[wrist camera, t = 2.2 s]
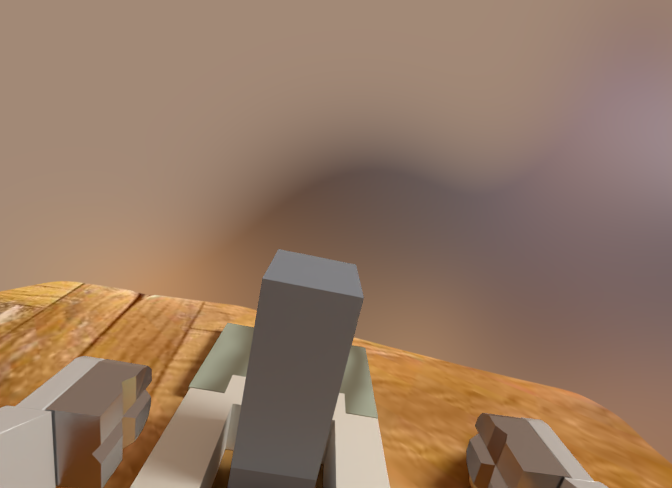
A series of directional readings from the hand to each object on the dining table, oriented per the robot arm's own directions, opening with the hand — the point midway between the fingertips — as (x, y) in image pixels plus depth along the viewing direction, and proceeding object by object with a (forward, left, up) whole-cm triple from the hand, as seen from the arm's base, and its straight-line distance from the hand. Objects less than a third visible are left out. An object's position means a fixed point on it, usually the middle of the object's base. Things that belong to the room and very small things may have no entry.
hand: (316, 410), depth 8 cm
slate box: (0, +12, -21) cm, 24 cm away
